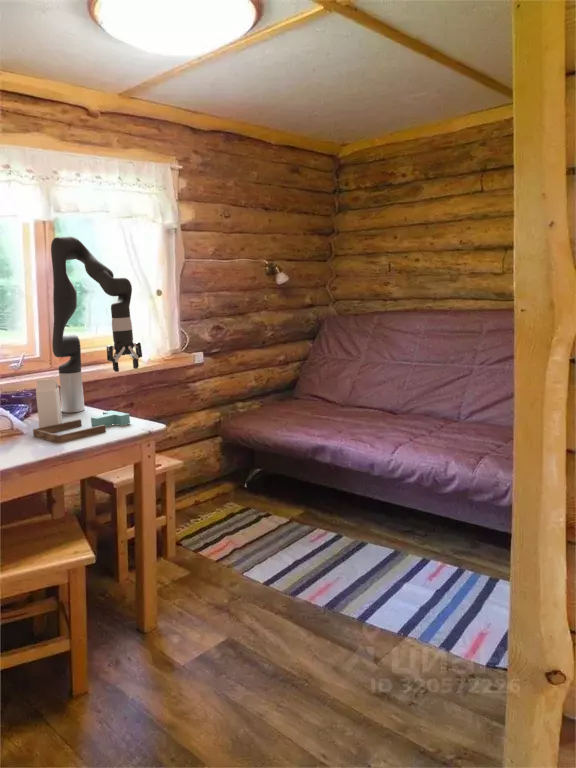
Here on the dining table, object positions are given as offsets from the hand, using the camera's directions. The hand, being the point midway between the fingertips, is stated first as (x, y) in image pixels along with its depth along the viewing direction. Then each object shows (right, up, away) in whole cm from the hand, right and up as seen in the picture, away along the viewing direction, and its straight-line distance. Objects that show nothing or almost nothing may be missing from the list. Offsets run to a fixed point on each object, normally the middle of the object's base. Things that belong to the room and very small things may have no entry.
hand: (126, 370), depth 239 cm
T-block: (-7, -22, -2) cm, 23 cm away
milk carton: (-29, -23, -3) cm, 37 cm away
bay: (-17, -24, -14) cm, 32 cm away
